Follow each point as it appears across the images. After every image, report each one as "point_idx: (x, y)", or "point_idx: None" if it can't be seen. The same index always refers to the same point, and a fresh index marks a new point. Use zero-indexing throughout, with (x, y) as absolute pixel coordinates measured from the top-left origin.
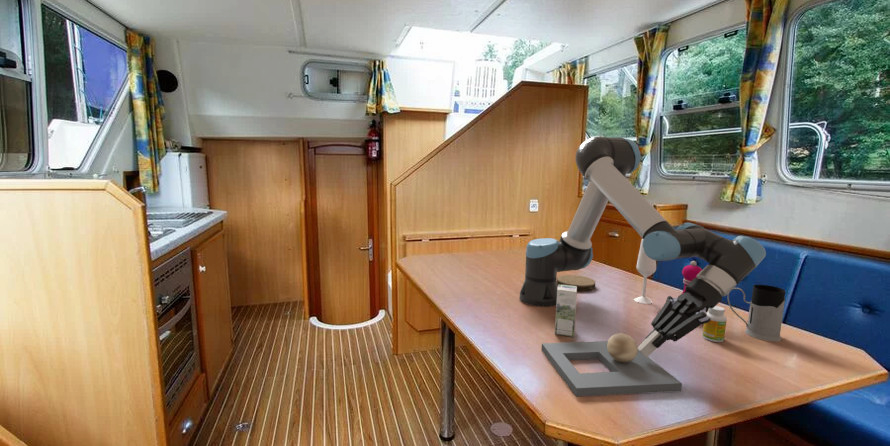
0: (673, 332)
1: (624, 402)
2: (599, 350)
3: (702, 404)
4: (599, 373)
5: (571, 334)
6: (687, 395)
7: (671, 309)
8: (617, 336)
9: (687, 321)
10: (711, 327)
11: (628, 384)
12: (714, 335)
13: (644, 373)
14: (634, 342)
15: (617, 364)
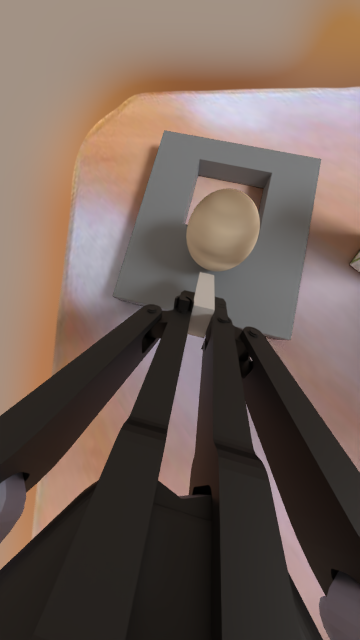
0: (137, 314)
1: (131, 199)
2: (262, 244)
3: (83, 299)
4: (188, 187)
5: (357, 257)
6: (108, 299)
7: (299, 505)
8: (233, 190)
9: (71, 376)
10: None
11: (143, 207)
12: None
13: (160, 259)
14: (200, 231)
15: None
